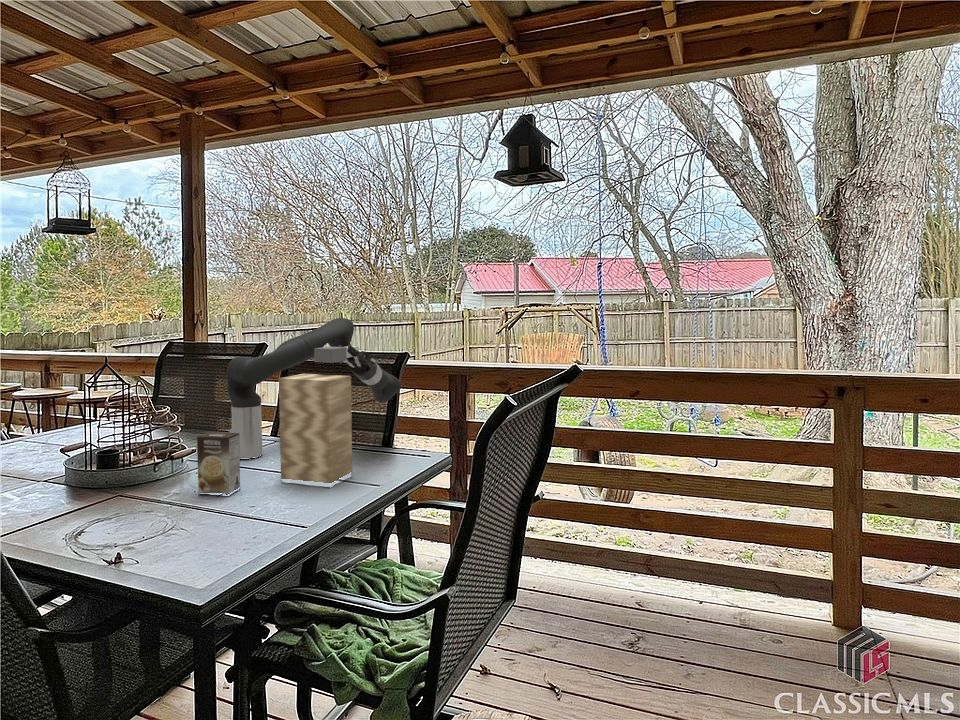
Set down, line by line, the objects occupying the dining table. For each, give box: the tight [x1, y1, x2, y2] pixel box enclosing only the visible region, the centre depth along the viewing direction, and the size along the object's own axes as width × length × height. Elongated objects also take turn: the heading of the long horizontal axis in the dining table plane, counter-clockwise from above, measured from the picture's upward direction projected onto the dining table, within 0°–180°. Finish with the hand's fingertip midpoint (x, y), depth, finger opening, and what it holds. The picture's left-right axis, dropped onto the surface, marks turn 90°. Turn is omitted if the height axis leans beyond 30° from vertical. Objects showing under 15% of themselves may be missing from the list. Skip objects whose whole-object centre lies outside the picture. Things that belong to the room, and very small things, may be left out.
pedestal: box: [278, 373, 353, 483], centre depth 175 cm, size 16×12×30 cm
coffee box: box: [196, 431, 241, 494], centre depth 163 cm, size 9×6×16 cm
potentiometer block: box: [313, 345, 360, 364], centre depth 186 cm, size 6×18×4 cm, turn 162°
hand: (343, 347), depth 188 cm, fingers closed on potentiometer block, 3 cm apart
